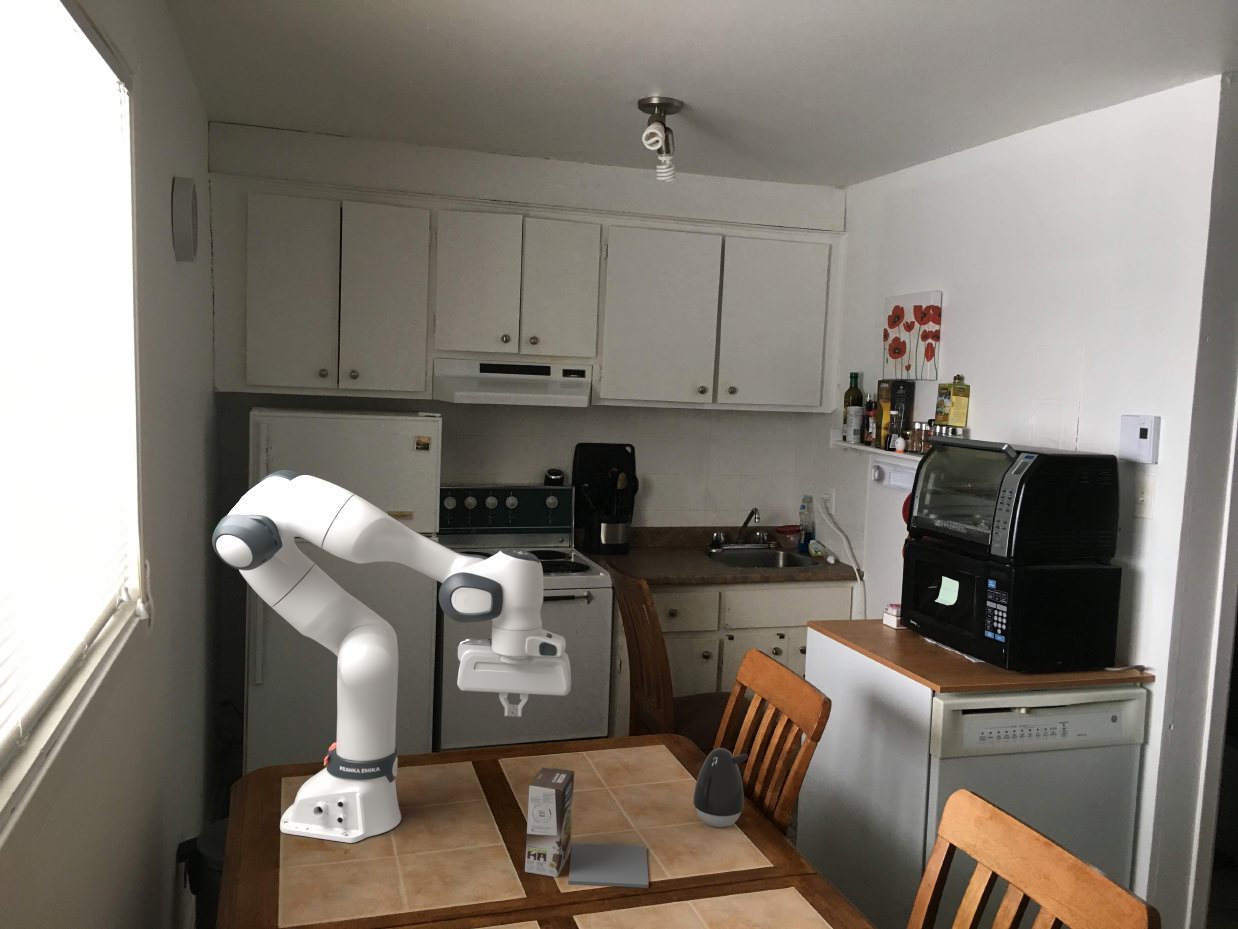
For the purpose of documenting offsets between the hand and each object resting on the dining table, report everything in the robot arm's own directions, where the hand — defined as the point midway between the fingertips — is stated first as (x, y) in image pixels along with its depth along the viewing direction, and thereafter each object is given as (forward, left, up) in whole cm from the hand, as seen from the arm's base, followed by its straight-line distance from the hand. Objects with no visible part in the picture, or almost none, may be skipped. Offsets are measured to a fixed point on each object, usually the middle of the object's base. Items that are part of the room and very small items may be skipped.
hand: (513, 716), depth 171 cm
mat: (+19, 0, -27) cm, 33 cm away
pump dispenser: (+41, +20, -27) cm, 53 cm away
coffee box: (+8, 0, -27) cm, 28 cm away
